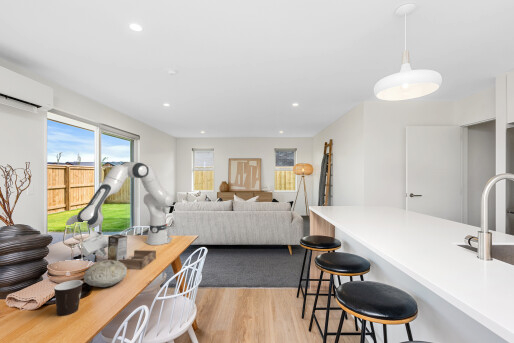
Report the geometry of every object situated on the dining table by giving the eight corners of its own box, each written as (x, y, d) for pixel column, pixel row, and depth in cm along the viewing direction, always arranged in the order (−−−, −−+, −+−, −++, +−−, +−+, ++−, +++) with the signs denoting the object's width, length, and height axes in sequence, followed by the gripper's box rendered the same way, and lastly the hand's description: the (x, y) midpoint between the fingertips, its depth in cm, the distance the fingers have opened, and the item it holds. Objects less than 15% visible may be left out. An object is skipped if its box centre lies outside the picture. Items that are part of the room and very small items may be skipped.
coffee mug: (63, 305, 98) (64, 280, 98) (86, 305, 98) (87, 279, 99) (40, 323, 86) (41, 294, 86) (66, 322, 87) (67, 293, 87)
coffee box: (106, 263, 145) (107, 236, 146) (116, 260, 151) (117, 233, 152) (117, 265, 142) (117, 237, 142) (127, 262, 147) (127, 235, 148)
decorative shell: (135, 278, 125) (135, 258, 125) (105, 294, 107) (106, 271, 108) (106, 274, 129) (106, 255, 129) (73, 289, 112) (74, 267, 112)
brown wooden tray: (125, 259, 156) (125, 250, 156) (155, 260, 155) (155, 250, 155) (107, 270, 137) (107, 259, 137) (141, 271, 137) (141, 260, 137)
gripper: (79, 239, 137) (96, 257, 136) (103, 231, 157) (118, 247, 157) (71, 247, 137) (88, 265, 136) (96, 238, 157) (110, 253, 157)
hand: (104, 255), depth 147 cm, fingers closed
